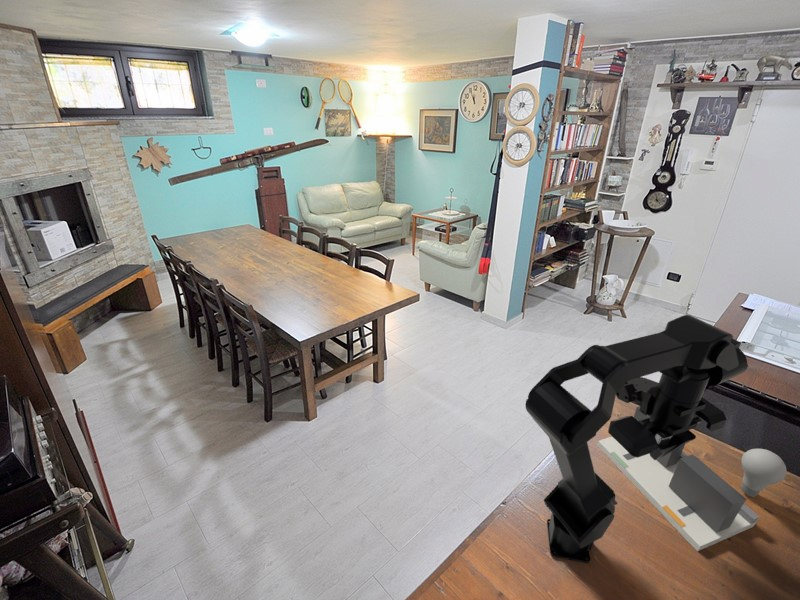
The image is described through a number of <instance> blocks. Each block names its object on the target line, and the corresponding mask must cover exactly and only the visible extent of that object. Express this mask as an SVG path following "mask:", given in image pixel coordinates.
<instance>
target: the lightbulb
mask: <svg viewBox="0 0 800 600" xmlns="http://www.w3.org/2000/svg"><path fill="white" fill-rule="evenodd" d="M740 462H741V467H742V470H743V477H742V483H741V485H740V489H741V491H742V492H743V494H745V495H747V496H749V497H751V498H752V497H753V498H755V497H757V496H758V495H759V494H760V492H762V491H763V490H765V488H766V487H768V486H773V485H775V484H778V483H781V482H782V481H783V480H785V478H786V476H787V467H786V464H785V462H784V460H783V459H782V458H781V457H780V456H779V455H777V454H776V453H774V452H773V451H770V450H768V449H766V448H765V449H764V448H751V449H749V450H747V451H745V452H744V453H743V454H742V456H741V461H740Z"/></svg>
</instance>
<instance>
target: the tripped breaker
mask: <svg viewBox="0 0 800 600" xmlns="http://www.w3.org/2000/svg"><path fill="white" fill-rule="evenodd" d="M669 487H670V488H671V489H672V490H673V491H674V492H675V493H676V494H677V495H678V496H679V497H680V498H681V499H682V500H683V501H684V502H685V503H686V504H687V505H688V506H690V507H691V508H692V509H693V510H694V511H695V512H696V513H697V514H698V515H699V516H700V517H701V518H702V519H703V520H704V521H705V522H706V523H707V524H708V525H709V526H710V527H711V528H712V529H713V530H714V531H715V532H716V533H718V532H720V531H722V530H725V529H727V528H729V527H730V526H731V524H732V523H733V521H734V519H735V517H736V516H737V514H738V512H739V511H740V509H741V507H742V506H743V504H745V502H746V500H747V498H746V497H745V496H744V495H742V494H741V493H740V492H739V491H738V490H737V489H735V488H734V487H733V486H732V485H731V484H729V483H728V482H727V481H726V480H725V479H723V478H722V477H721V476H720V475H718V474H717V472H715V471H714V470H713V469H711V467H709V466H708V465H707V464H705V463H704V462H703V461H702V460H701V459H699V458H698V457H697V456H696V455H695V454H693V453H691V454H690V455H689V454H688V456H686V457H683V458H680V460H679V463H678V465H677V467H676V470H675V472H674V474H673V477H672V479H671V481H670V484H669Z"/></svg>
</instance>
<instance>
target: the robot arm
mask: <svg viewBox="0 0 800 600" xmlns="http://www.w3.org/2000/svg"><path fill="white" fill-rule="evenodd" d="M741 345H742V342H741V341H738V340H736V339H734V336H733V334H732V333H729V332H727V331H726V330H724V329H721V328H718V327H716V326H714V325H713V324H710V323H708V322H705V321H703V320H702V319H699V318H697V317H694V316H693V315H691V314H685V315H682V316H679V317H677V318H675V319H672V320H670V321H668V322H667V324H666V326H665V328H664V330H663V331H660V332H657V333H656V332H655V333H653V334H647V335H645V336H641V337H637V338H632V339H629V340H624V341H620V342H616V343H612V344H607V345H599V344H593V345H591V346H589V347H588V348H587V349H586V350H585V351H584V352H583V353H582V354H581V355H580V356H579V357H578V358H577V359H574V360H572V361H571V360H570V361H568V362H566V363H563V364H560V365H557V366H554V367H552V368H551V369H550V370H549V371H547V373H546V374H544V376H543V377H542V378H541V379H540V380H539V381H538V382H537V383H536V384H535V385H534V386H533V387H532V389H530V391H529V392H528V395H527V398H526V400H525V410H526V412H527V413H528V415H530V417H531V418H532V420H533V421H534V422H535V423H536V424H537V425H538V427H540V429H541V430H542V431H543V432H544V433H545V435H546V436H547V437H548V439H549V441H550V445H551V448H552V450H553V453H554V456H555V460H556V463H557V465H558V467H559V471H560V473H561V476H562V479H561V480H559V481H558V482H557V485H556V486H555V487H554V488H553V489H552V490H551V491H550V492H549V493H548V495H547V496H546V497H544V499H543V502H544V504H545V507H546V508H548V509H549V511H550V512H551V514H550V518H548V519H547V520H546V527H547V535H548V537H547V538H548V545H549V546H548V547H549V555H550V556H552V557H555V558H561V559H567V560H571V561H577V562H582V563H586V564H587V563H590V562H591V555H590V551H592V550H593V546H594V544H595V542H596V541H597V540H600V539H601V538H602V537H603V536H604V534H605V533H606V531H607V530H608V529H609V527H610V525H611V524H612V522H613V520H614V518H615V515H614V514H615V512H616V505H618V501H617V500H616V494H615V491H614V490H613V489H612V488H611V487H610V486H609V485H608V484H607V483H606V482H605V480H604V479H602V477H600V476H599V475H598V474H597V473H596V472H595V469H594V464H593V460H592V457H591V452H590V449H589V444H588V442H589V441H590V440H592V439H593V438H594V437H596V436H597V433H598V432H599V431H601V429H602V428H603V427H604V426H605V425H606V424H607V423H608V422H609V426H608V430H607V433H608V434H609V435H610V437H613V438H614V439H615V440H616V441H617V442H618V443H619V444H620V445H621V446H623V447H624V448H625V449H626V450H627V451H628V452H629V453H630V454H631V455H632V456H634V457H637V458H638V457H641V456H644V455H646V454H649V453H650V456H651V457H652V458H653V459H654V460H658V459H660V458H662V457H663V456H665V455H667V454H668V453H670V452H672V451H673V450H675V449H677V448H679V447H681V446H683V445H684V444H685V445H686V444H688V443H690V442H692V441H694V440H696V438H697V436H696V434H695V433H693V432H692V431H691V430H693V429H696V428H697V426H698V424H701V423H702V421H705V422H706V426H705V427H706V429H707V430H708V431H710V432H714V431H717V430H720V429H723V428H724V426H725V424H726V422H727V420H728V419H727V417H726V414H725V413H724V411H723V410H721V408H718V406H715V405H714V404H713V403H711V402H710V401H708V400H707V399H706V398H705V397H703V395H704V393H705V390H706V387H707V386H709V387H710V386H711V387H716V386H718V385H721V384H723V383H724V382H727V381H729V380H730V379H733V378H735V377H737V376H741V375H742V374H744V373H745V372H746V371H747V369H748V367H749V365H748V359H747V356H746V355H745V353H744V352H743V350H742V349H740V346H741ZM655 373H660V374H661V375H660V379H659V381H658V382H657V381H654V380H652V379H650V378H647V377H644V376H648V375H652V374H655ZM587 374H590V375H591V376H592V377H594V378H595V379H597V380H598V381H599V382H601V384H602V385H601V389H600V393H599V398H598V403H597V406H596V407H594V408H593V409H592V410H591V409H590V408H589V407H588V406H586V405H585V403H582V401H580V400H579V399H578V398H577V397H576V396H574V395H573V394H572V393H571V392H569V391H568V390H567V389H566V388H565V387H564V386H562V384H564V383H565V382H567V381H570V380H575V379H576V378H579V377H582V376H585V375H587ZM616 398H617V399H618V400H619V401H622V402H624V403H626V404H630V403H631V404H634V405H636V406H637V407H638V406H640V409H639V411H640V412H642V413H643V414H644V415H648V416H649V418H647V419H644V420H641V421H637V420H636V419H635V418H634V415H625V416H623V417H620V418H617V419H613V420H611V418H612V414H613V410H614V405H615V401H616ZM610 420H611V421H610Z"/></svg>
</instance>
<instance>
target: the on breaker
mask: <svg viewBox="0 0 800 600" xmlns="http://www.w3.org/2000/svg"><path fill="white" fill-rule="evenodd" d="M639 409H640V406H638V405H637V406H636V408H635V412H634V414H633V417H634V418H635V419H636V420H637V421H641V420H644V419H647V418H649V416H648V415H644V414H643V413H642V412H640V411H639ZM685 446H686V444H684V445H683V446H681V447H679V448H677V449H675V450H673V451H672V452H670V453H668V454H667V455H665V456H663V457H662V458H660V459H658V461H659V462H660V463H661V464H662V465H663V466H664V467H665V468H666V467H669V466H671V465H674V464H677V462H678V460H679V458H680V455H681V453H682V451H683V450H684V448H685ZM683 452H684V451H683Z"/></svg>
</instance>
